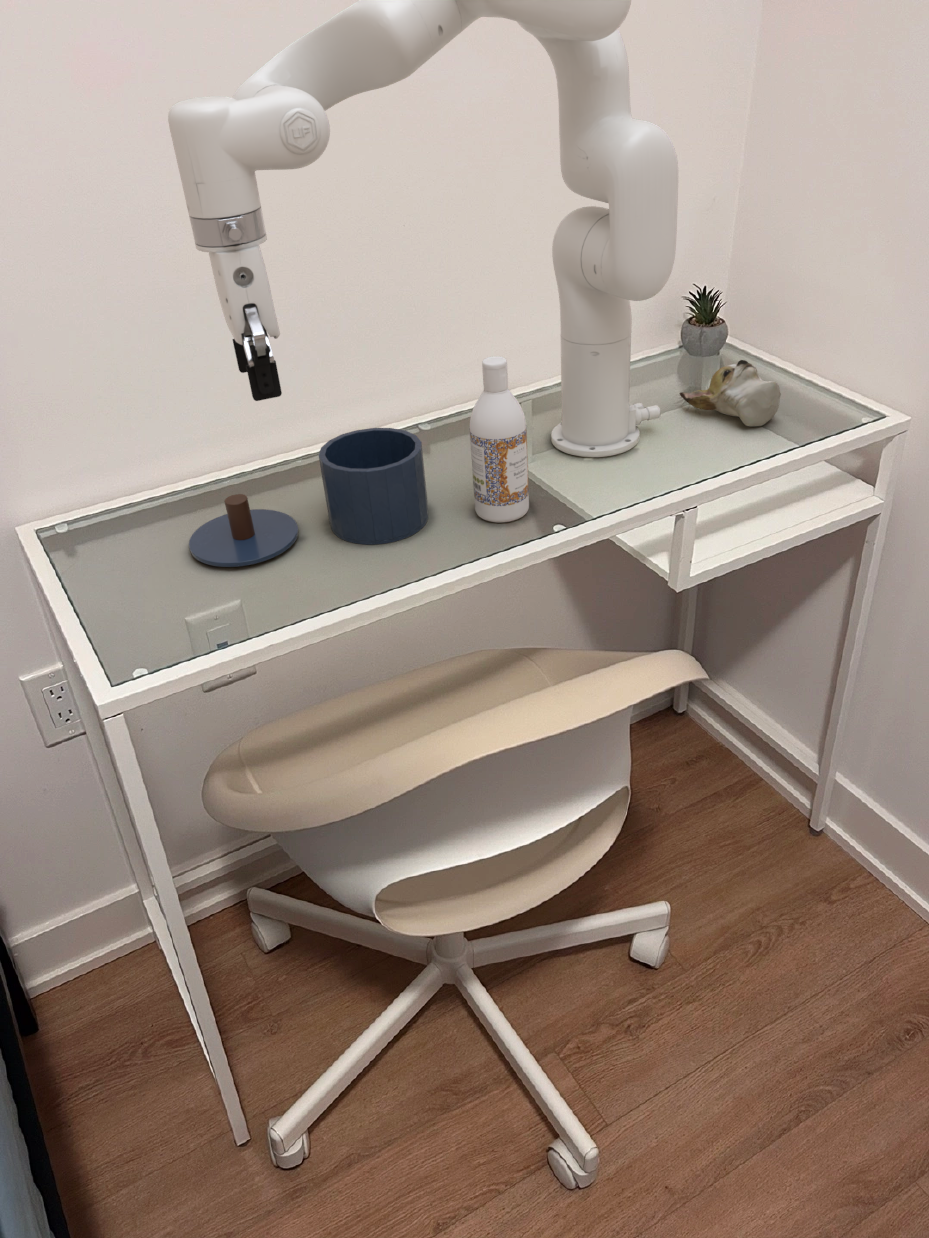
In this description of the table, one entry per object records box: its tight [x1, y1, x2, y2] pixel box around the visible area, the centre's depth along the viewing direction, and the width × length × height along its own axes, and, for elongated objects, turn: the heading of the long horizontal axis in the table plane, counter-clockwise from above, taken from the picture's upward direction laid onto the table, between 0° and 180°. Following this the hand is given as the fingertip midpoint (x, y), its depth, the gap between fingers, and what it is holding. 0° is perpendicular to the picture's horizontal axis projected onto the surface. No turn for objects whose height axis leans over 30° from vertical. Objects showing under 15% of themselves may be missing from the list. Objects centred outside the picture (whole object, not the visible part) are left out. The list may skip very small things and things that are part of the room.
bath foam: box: [469, 355, 530, 523], centre depth 123 cm, size 7×7×20 cm
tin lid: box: [188, 493, 299, 568], centre depth 125 cm, size 14×14×6 cm
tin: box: [318, 427, 429, 546], centre depth 126 cm, size 13×13×10 cm
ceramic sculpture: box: [679, 359, 782, 427], centre depth 147 cm, size 11×9×15 cm
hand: (260, 383), depth 116 cm, fingers open, 9 cm apart
